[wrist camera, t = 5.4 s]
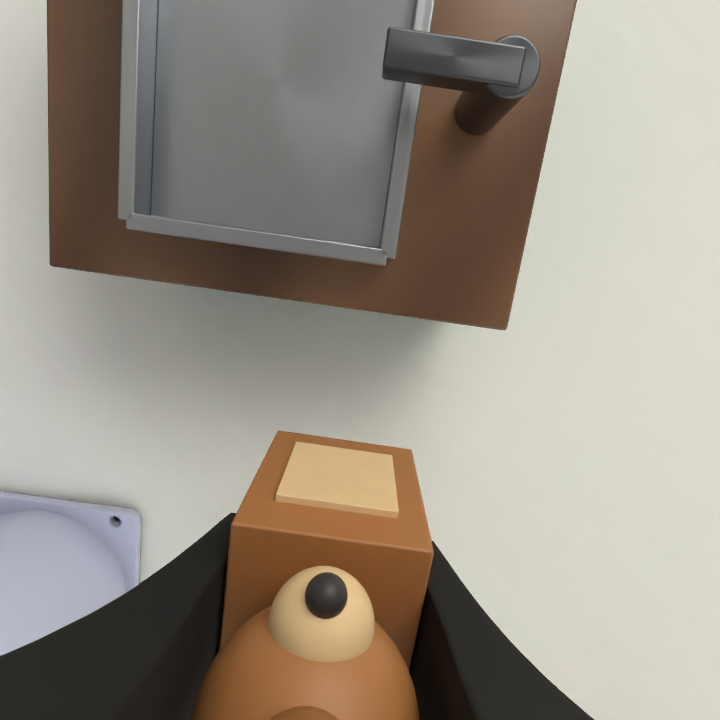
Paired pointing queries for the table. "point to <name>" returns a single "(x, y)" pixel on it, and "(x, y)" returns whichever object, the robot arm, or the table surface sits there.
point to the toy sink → (304, 146)
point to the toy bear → (322, 587)
